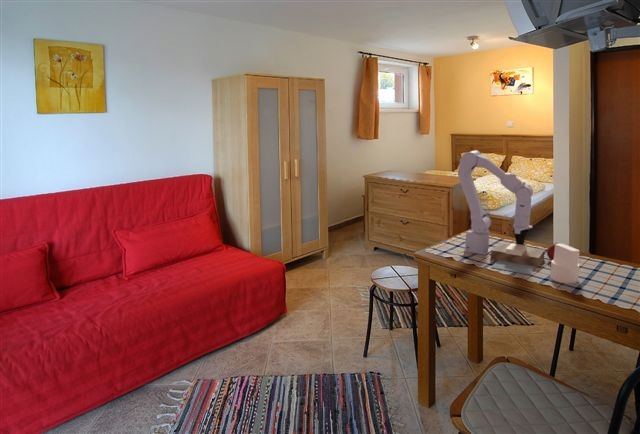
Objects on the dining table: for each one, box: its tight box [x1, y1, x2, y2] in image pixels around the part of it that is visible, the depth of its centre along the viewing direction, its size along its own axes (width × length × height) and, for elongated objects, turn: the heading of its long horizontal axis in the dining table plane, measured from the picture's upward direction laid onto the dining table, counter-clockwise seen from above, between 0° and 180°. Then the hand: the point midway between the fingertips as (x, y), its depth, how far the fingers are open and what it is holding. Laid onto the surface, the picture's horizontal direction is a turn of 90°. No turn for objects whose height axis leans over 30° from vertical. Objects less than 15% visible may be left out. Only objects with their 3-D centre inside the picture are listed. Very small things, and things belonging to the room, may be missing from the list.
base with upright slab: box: [549, 243, 581, 284], centre depth 160 cm, size 9×9×12 cm
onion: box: [546, 242, 559, 261], centre depth 178 cm, size 6×6×8 cm
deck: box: [490, 242, 546, 269], centre depth 183 cm, size 18×12×4 cm, turn 54°
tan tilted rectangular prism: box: [506, 242, 528, 256], centre depth 180 cm, size 6×9×2 cm, turn 144°
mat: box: [490, 260, 536, 276], centre depth 174 cm, size 14×10×1 cm
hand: (519, 246), depth 184 cm, fingers closed
